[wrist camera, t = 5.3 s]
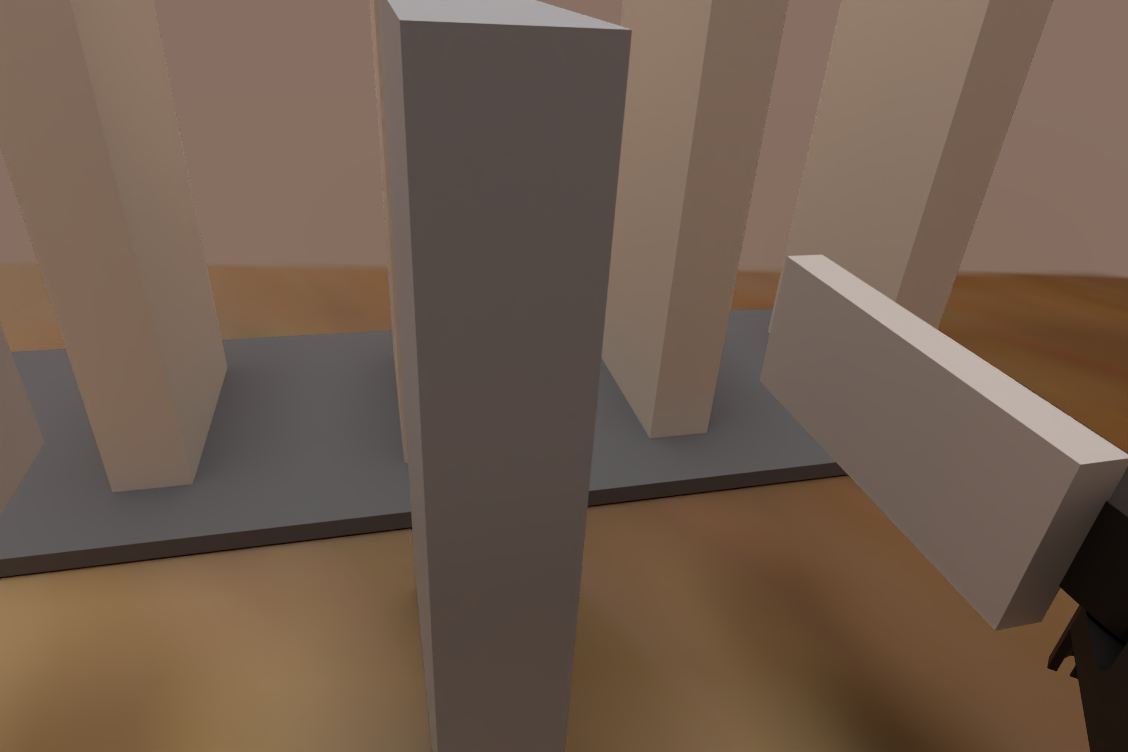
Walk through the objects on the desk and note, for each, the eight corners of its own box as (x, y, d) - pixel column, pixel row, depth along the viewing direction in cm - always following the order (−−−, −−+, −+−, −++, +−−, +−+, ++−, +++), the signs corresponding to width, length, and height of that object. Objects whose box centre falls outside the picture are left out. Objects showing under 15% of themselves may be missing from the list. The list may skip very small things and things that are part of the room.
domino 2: (447, 353, 25) (436, -53, 19) (471, 456, 20) (467, -52, 14) (393, 356, 24) (365, -58, 18) (404, 462, 19) (370, -59, 13)
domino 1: (227, 367, 23) (138, -73, 17) (192, 484, 18) (49, -81, 12) (165, 371, 23) (52, -79, 17) (112, 492, 18) (-77, -89, 12)
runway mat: (846, 315, 31) (849, 304, 31) (1029, 452, 22) (1036, 439, 22) (-259, 382, 22) (-268, 367, 21) (-641, 654, 13) (-663, 636, 13)
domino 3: (640, 340, 26) (686, -36, 20) (707, 432, 21) (794, -30, 15) (592, 343, 26) (626, -41, 20) (649, 438, 21) (716, -36, 15)
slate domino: (495, 576, 17) (501, -11, 11) (555, 845, 12) (632, 30, 6) (415, 587, 16) (376, -17, 10) (443, 872, 11) (400, 19, 5)
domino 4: (809, 329, 28) (898, -22, 22) (908, 412, 23) (1057, -13, 17) (767, 332, 28) (847, -26, 22) (859, 417, 23) (995, -17, 17)
